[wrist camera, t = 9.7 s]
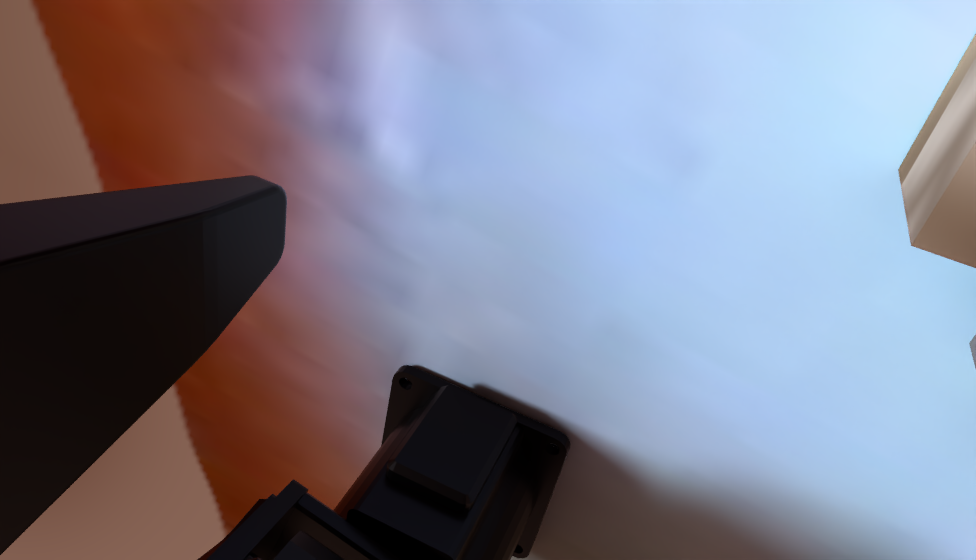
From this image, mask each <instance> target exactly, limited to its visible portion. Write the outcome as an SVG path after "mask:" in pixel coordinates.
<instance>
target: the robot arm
mask: <svg viewBox="0 0 976 560" xmlns="http://www.w3.org/2000/svg"><path fill="white" fill-rule="evenodd" d="M286 207H287V197H286V193H285V191H284V189H283V188H282V187H281V186H279V185H277V184H275V183H272V182H270V181H267V180H265V179H262V178H260V177H257V176H252V175H251V176H241V177H232V178H223V179H215V180H206V181H197V182H189V183H180V184H172V185H163V186H154V187H146V188H137V189H128V190H120V191H111V192H102V193H94V194H85V195H77V196H68V197H59V198H50V199H42V200H33V201H24V202H16V203H7V204H0V555H1V554H2V553H3V552H4V551H5V550H6V549H7V548H8V547H9V546H10V545H11V544H12V543H13V542H14V541H15V540H16V539H17V538H18V537H19V536H20V535H21V534H22V533H23V532H24V531H25V530H26V529H27V528H28V527H29V526H30V525H31V524H32V523H33V522H34V521H35V520H36V519H37V518H38V517H39V516H40V515H41V514H42V513H43V512H44V511H45V510H47V508H48V507H49V506H50V505H52V504H53V502H55V501H56V500H57V499H58V498H59V497H60V496H61V495H62V494H63V493H64V492H65V491H66V490H67V489H68V488H69V487H70V486H71V485H72V484H73V483H74V482H75V481H76V480H77V479H78V478H79V477H80V476H81V475H82V474H83V473H84V472H85V471H86V470H87V469H88V468H89V467H90V466H91V465H92V464H93V463H94V462H95V461H96V460H97V459H98V458H99V457H100V456H101V455H102V454H103V453H104V452H105V451H106V450H107V449H108V448H109V447H110V446H111V445H112V444H113V443H114V442H115V441H116V440H117V439H118V438H119V437H120V436H121V435H122V434H123V433H124V432H125V431H126V430H127V429H128V428H130V427H131V426H132V424H134V423H135V422H136V421H137V420H138V418H140V417H141V416H142V415H143V414H144V413H145V412H146V411H147V410H148V409H149V408H150V407H151V406H152V405H153V404H154V403H155V402H156V401H157V400H158V399H159V398H160V397H161V396H162V395H163V394H164V393H165V392H166V391H167V390H168V389H169V388H170V387H171V386H172V385H173V384H174V383H175V382H176V381H177V380H178V379H179V378H180V377H181V376H182V375H183V374H184V373H185V372H186V371H187V370H188V369H189V368H190V367H191V366H192V365H193V364H194V363H195V362H196V361H197V360H198V359H199V358H200V357H201V356H202V355H203V354H204V353H205V352H206V351H207V349H208V348H209V347H210V346H211V345H212V344H213V343H214V341H215V340H216V339H217V338H218V337H219V336H220V334H221V333H222V332H223V331H224V329H225V328H226V327H227V326H228V324H229V323H230V322H231V321H232V319H233V318H234V317H235V316H236V315H237V313H238V312H239V311H240V310H241V308H242V307H243V306H244V305H245V303H246V302H247V301H248V300H249V298H250V297H251V296H252V295H253V293H254V292H255V291H256V290H257V289H258V287H259V286H260V285H261V284H262V282H263V281H264V280H265V279H266V277H267V276H268V275H269V274H270V272H271V271H272V270H273V269H274V268H275V266H276V265H277V263H278V262H279V260H280V258H281V256H282V253H283V250H284V245H285V227H286ZM405 378H407V379H408V380H410V382H411V383H410V382H408V381H407V380H406V379H405ZM550 443H553V444H555V445H557V446H558V447H554V446H552V445H551V444H550ZM569 448H570V441H569V439H568V438H567V436H566V435H565V434H563V433H562V432H560V431H558V430H556V429H553V428H551V427H549V426H547V425H544V424H542V423H540V422H538V421H535V420H533V419H531V418H528V417H526V416H524V415H522V414H519V413H517V412H515V411H513V410H510V409H508V408H506V407H503V406H501V405H499V404H497V403H494V402H492V401H490V400H488V399H485V398H483V397H481V396H478V395H476V394H474V393H472V392H469V391H467V390H465V389H463V388H460V387H458V386H456V385H453V384H451V383H449V382H447V381H444V380H442V379H440V378H438V377H435V376H433V375H431V374H428V373H426V372H424V371H422V370H419V369H417V368H415V367H412V366H409V365H405V366H402V367H401V368H399V370H398V371H397V372H396V373H395V374H394V377H393V380H392V386H391V392H390V398H389V404H388V410H387V416H386V422H385V428H384V433H383V439H382V445H381V447H380V449H379V450H378V451H377V453H376V454H375V455H374V457H373V458H372V459H371V461H370V462H369V463H368V465H367V466H366V467H365V469H364V470H363V471H362V473H361V474H360V475H359V477H358V478H357V480H356V481H355V482H354V484H353V485H352V486H351V488H350V489H349V490H348V492H347V493H346V494H345V496H344V497H343V498H342V500H341V501H340V502H339V504H338V505H337V506H336V508H335V509H334V510H332V509H330V508H329V507H327V506H326V505H324V504H323V503H322V502H320V501H319V500H317V499H316V498H314V497H313V496H312V495H310V494H309V493H307V491H308V489H307V488H305V487H304V486H303V485H301V484H300V483H298V482H297V481H295V480H294V479H293V480H292V481H291V482H290V483H289V484H288V485H287V486H286V487H285V488H284V489H283V490H282V491H281V492H280V493H279V494H278V495H277V496H275V495H274V494H272V495H271V496H270V497H269V498H268V499H259V500H258V501H257V503H256V504H255V505H254V506H253V507H252V508H251V509H250V511H249V512H248V513H247V514H246V515H245V516H244V517H243V519H242V520H241V521H240V522H239V523H238V524H237V525H236V527H235V528H234V529H233V530H232V531H231V532H230V533H229V534H228V535H227V536H226V537H225V538H224V539H223V540H222V541H221V542H220V543H218V544H217V545H216V546H214V547H213V548H212V549H211V550H209V551H208V552H207V553H205V554H204V555H203V556H201V557H200V558H199V559H198V560H510V559H511V557H512V556H514V557H517V558H525V557H527V556H528V555H529V553H530V550H531V548H532V546H533V543H534V541H535V538H536V535H537V533H538V530H539V527H540V525H541V522H542V519H543V517H544V514H545V512H546V509H547V506H548V504H549V501H550V498H551V496H552V493H553V490H554V488H555V485H556V483H557V480H558V477H559V475H560V472H561V469H562V467H563V464H564V461H565V459H566V456H567V454H568V451H569Z"/></svg>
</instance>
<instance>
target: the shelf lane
mask: <svg viewBox="0 0 976 560" xmlns="http://www.w3.org/2000/svg"><path fill="white" fill-rule="evenodd" d="M898 171H899V177H900V183H901V189H902V195H903V201H904V207H905V213H906V218H907V224H908V230H909V236H910V242H911V246H914V247H917V248H920V249H923V250H925V251H928V252H931V253H934V254H937V255H940V256H943V257H945V258H948V259H951V260H954V261H957V262H960V263H963V264H966V265H968V266H971V267H974V268H976V34H975V36H974V38H973V39H972V41H971V43H970V45H969V46H968V48H967V50H966V52H965V53H964V55H963V57H962V59H961V60H960V62H959V64H958V66H957V68H956V69H955V71H954V73H953V75H952V76H951V78H950V80H949V82H948V83H947V85H946V87H945V89H944V90H943V92H942V94H941V96H940V97H939V99H938V101H937V103H936V104H935V106H934V108H933V110H932V111H931V113H930V115H929V117H928V118H927V120H926V122H925V124H924V125H923V127H922V129H921V131H920V133H919V134H918V136H917V138H916V140H915V141H914V143H913V145H912V147H911V148H910V150H909V152H908V154H907V155H906V157H905V159H904V161H903V162H902V164H901V166H900V168H899V169H898Z"/></svg>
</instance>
